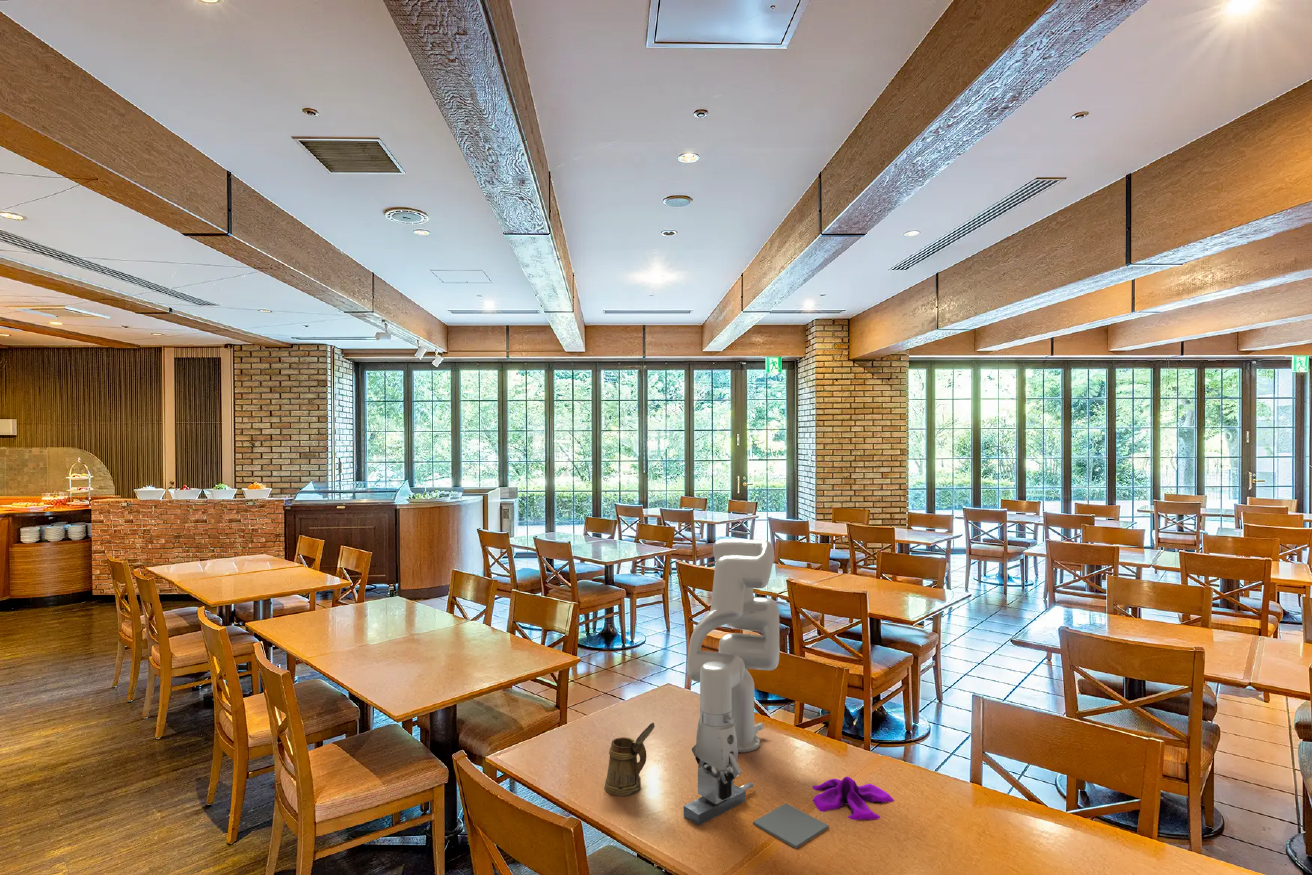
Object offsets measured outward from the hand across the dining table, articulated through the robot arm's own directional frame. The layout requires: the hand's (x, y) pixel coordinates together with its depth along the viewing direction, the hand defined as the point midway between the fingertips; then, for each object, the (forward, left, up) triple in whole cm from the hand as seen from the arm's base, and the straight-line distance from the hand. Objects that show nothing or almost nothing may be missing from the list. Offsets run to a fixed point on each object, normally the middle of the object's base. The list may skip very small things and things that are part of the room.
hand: (715, 791), depth 154 cm
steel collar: (0, 0, -1) cm, 1 cm away
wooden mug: (+10, -20, -4) cm, 23 cm away
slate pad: (-8, +16, -4) cm, 18 cm away
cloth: (-28, +17, -5) cm, 33 cm away
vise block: (-2, 0, -4) cm, 5 cm away
